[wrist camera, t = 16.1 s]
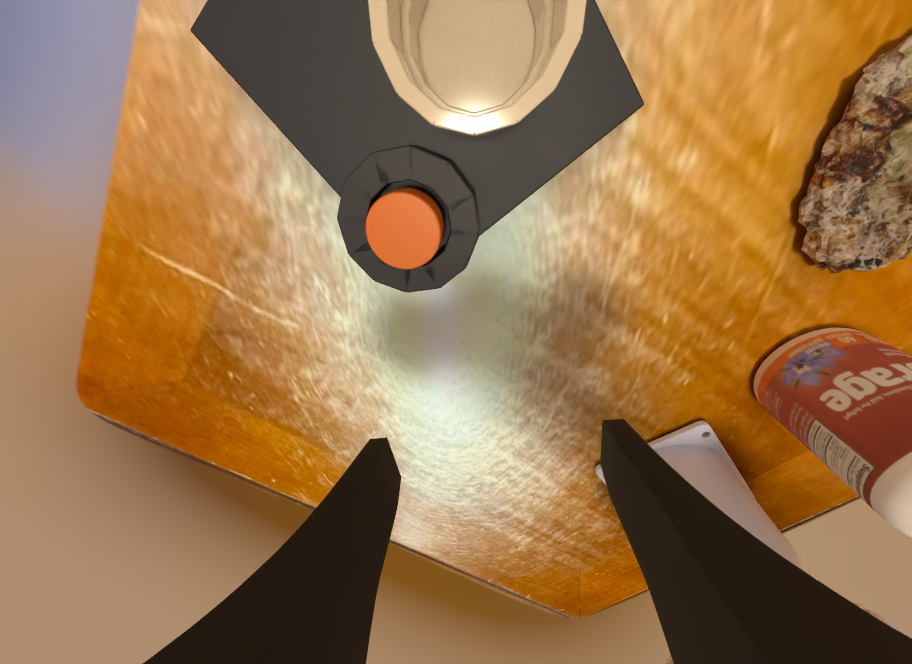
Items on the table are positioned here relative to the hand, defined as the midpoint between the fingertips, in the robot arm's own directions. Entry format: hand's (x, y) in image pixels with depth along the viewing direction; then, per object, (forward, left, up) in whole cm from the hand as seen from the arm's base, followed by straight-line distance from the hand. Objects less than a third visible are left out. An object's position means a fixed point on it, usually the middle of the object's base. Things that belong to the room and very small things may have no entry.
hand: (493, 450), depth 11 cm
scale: (+11, -5, -9) cm, 15 cm away
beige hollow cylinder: (+10, -7, -8) cm, 15 cm away
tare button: (+7, -1, -7) cm, 10 cm away
